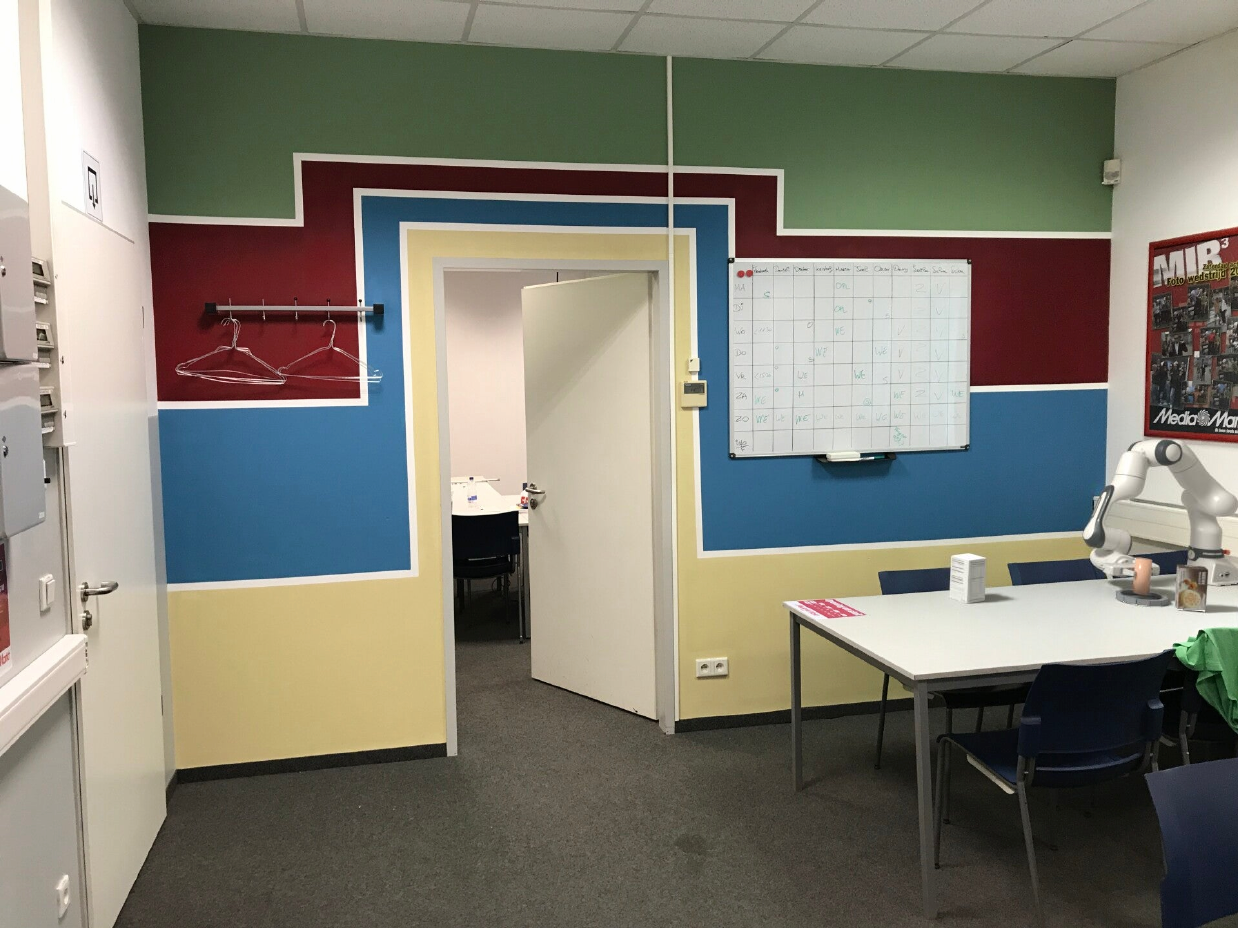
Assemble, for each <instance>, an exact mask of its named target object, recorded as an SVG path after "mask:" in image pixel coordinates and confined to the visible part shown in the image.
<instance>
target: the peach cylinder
mask: <svg viewBox="0 0 1238 928" xmlns="http://www.w3.org/2000/svg"><path fill="white" fill-rule="evenodd" d="M1152 563H1153V560H1152V559H1151V558H1145V557H1140V558H1135V568H1134V571H1136V572H1137V576H1133V582H1132V589H1133V591H1132V592H1133V593H1136V594H1141V595H1148V594H1149V591H1150V590H1151V589H1150V588H1151V578H1152V576H1151V568H1152Z"/></svg>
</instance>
